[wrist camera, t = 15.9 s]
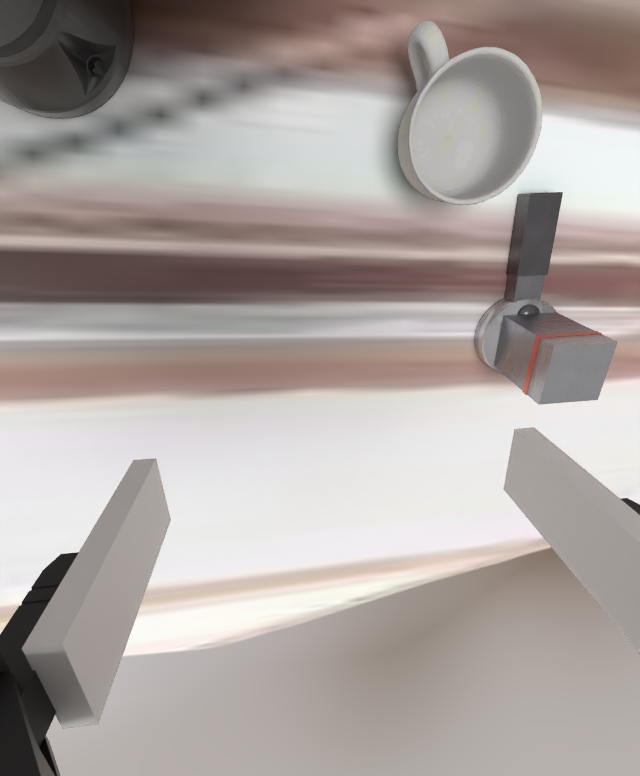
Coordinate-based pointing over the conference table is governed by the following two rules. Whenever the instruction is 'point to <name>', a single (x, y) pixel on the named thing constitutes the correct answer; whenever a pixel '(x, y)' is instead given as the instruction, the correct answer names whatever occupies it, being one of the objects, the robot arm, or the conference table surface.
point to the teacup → (467, 120)
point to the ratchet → (522, 268)
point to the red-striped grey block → (553, 357)
